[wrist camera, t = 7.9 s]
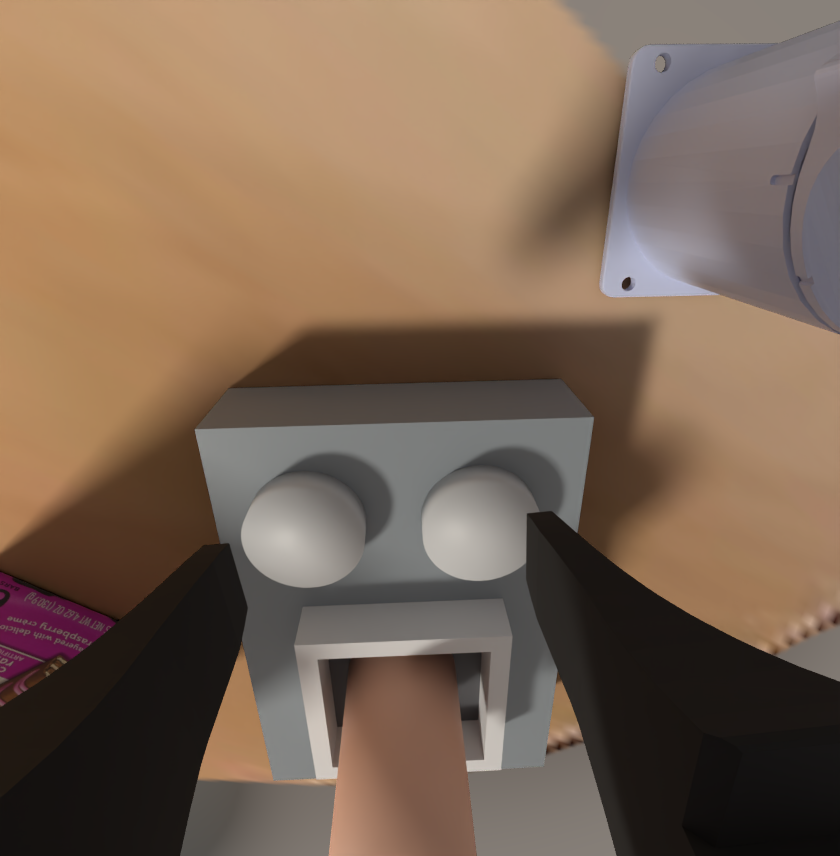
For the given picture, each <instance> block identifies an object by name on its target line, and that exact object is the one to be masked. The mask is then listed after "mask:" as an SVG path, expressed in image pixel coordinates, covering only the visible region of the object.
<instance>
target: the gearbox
mask: <svg viewBox="0 0 840 856" xmlns="http://www.w3.org/2000/svg"><path fill="white" fill-rule="evenodd" d="M593 422H594V416H593V415H592V414H591V413H590V412H589V411H588V409H587V408H586V407H585V406H584V405H583V404H582V402H581V401H580V400H579V399H578V398H577V397H576V395H575V394H574V393H573V392H572V391H571V390H570V388H569V387H568V386H567V385H566V384H565V383H564V381H563V380H562V379H540V380H504V381H468V382H432V383H396V384H361V385H325V386H289V387H253V388H229V389H228V390H227V391H226V392H225V393H224V395H223V396H222V397H221V398H220V399H219V401H218V402H217V403H216V404H215V405H214V407H213V408H212V409H211V410H210V411H209V413H208V414H207V415H206V416H205V417H204V419H203V420H202V421H201V422H200V423H199V425H198V426H197V427H196V428H195V434H196V438H197V443H198V447H199V451H200V456H201V460H202V465H203V469H204V474H205V478H206V482H207V487H208V491H209V496H210V500H211V505H212V509H213V514H214V518H215V522H216V527H217V531H218V536H219V540H220V544H224V543H229V544H230V548H231V551H232V554H233V558H234V561H235V565H236V568H237V572H238V575H239V578H240V582H241V585H242V589H243V592H244V595H245V599H246V602H247V606H248V611H247V616H246V622H245V627H244V632H243V637H242V642H243V647H244V651H245V656H246V660H247V664H248V669H249V673H250V678H251V682H252V687H253V691H254V695H255V700H256V704H257V709H258V713H259V718H260V722H261V727H262V731H263V735H264V740H265V744H266V749H267V753H268V758H269V762H270V766H271V771H272V775H273V780H274V781H275V780H294V779H314V778H316V779H335V778H337V774H338V764H339V755H340V745H341V736H342V727H343V717H344V708H345V698H346V689H347V679H348V670H349V663H350V660H351V658H363V657H385V656H408V655H430V654H452V656H453V658H454V661H455V669H456V678H457V686H458V695H459V704H460V713H461V722H462V730H463V739H464V748H465V757H466V766H467V772H470V771H489V770H501V769H506V768H523V767H524V768H525V767H543V766H544V761H545V754H546V747H547V740H548V733H549V727H550V720H551V713H552V706H553V699H554V692H555V685H556V678H557V671H558V670H557V667H556V665H555V663H554V660H553V658H552V655H551V653H550V650H549V648H548V645H547V643H546V640H545V638H544V636H543V633H542V631H541V628H540V626H539V623H538V620H537V618H536V615H535V611H534V607H533V604H532V600H531V597H530V593H529V589H528V585H527V581H526V532H527V513H535V512H545V511H552V512H554V513H555V514H556V515H557V516H558V517H559V518H561V519H562V520H563V521H564V522H565V523H566V524H567V525H569V526H570V527H571V528H572V529H573V530H574V531H575V532H576V533H578V526H579V519H580V512H581V505H582V498H583V491H584V484H585V477H586V470H587V463H588V456H589V450H590V443H591V436H592V429H593Z"/></svg>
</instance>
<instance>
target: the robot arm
mask: <svg viewBox="0 0 840 856" xmlns="http://www.w3.org/2000/svg"><path fill="white" fill-rule="evenodd" d="M658 56H662V57H663V58H664V59H665V68H664V70H663V71H662V72H658V71H657V70H656V68H655V61H656V58H657V57H658ZM627 277H630V278H631V284H630V286H629V287H628V288H626V289H623V288H622V282H623V280H624V279H625V278H627ZM599 285H600V290H601V292H602V293H604V294H605V295H607V296H609V297H648V296H692V295H723V296H726V297H729V298H732V299H735V300H738V301H741V302H744V303H747V304H750V305H753V306H756V307H759V308H762V309H765V310H768V311H771V312H774V313H777V314H780V315H783V316H786V317H789V318H792V319H795V320H798V321H801V322H804V323H807V324H810V325H813V326H816V327H819V328H822V329H825V330H828V331H831V332H834V333H837V334H840V21H837V22H834V23H832V24H829V25H827V26H824V27H821V28H818V29H816V30H813V31H811V32H808V33H805V34H803V35H800V36H797V37H795V38H792V39H789V40H787V41H784V42H781V43H762V44H761V43H759V44H650V45H645V46H643V47H641V48H639V49H638V50H637V51H635V52H634V54H633V55H632V57H631V58H630V61H629V65H628V71H627V79H626V86H625V94H624V102H623V109H622V117H621V124H620V132H619V139H618V147H617V154H616V162H615V169H614V177H613V184H612V192H611V199H610V207H609V214H608V222H607V230H606V237H605V245H604V252H603V260H602V267H601V275H600V282H599ZM526 581H527V585H528V589H529V593H530V597H531V600H532V604H533V607H534V611H535V615H536V618H537V620H538V623H539V626H540V628H541V631H542V633H543V636H544V638H545V640H546V643H547V645H548V648H549V650H550V653H551V655H552V658H553V660H554V663H555V665H556V667H557V670H558V672H559V675H560V677H561V680H562V682H563V685H564V687H565V689H566V692H567V694H568V697H569V699H570V702H571V704H572V707H573V710H574V712H575V715H576V718H577V721H578V723H579V727H580V730H581V733H582V737H583V740H584V743H585V746H586V750H587V753H588V756H589V760H590V762H591V766H592V769H593V773H594V776H595V780H596V783H597V787H598V790H599V794H600V797H601V800H602V804H603V807H604V811H605V815H606V818H607V822H608V826H609V829H610V833H611V837H612V840H613V844H614V848H615V851H616V855H617V856H840V682H839V681H836V680H834V679H831V678H828V677H826V676H823V675H820V674H818V673H815V672H812V671H809V670H807V669H804V668H801V667H799V666H796V665H794V664H792V663H789V662H787V661H785V660H782V659H780V658H778V657H776V656H773V655H771V654H769V653H766V652H764V651H762V650H759V649H757V648H755V647H753V646H751V645H749V644H747V643H744V642H742V641H740V640H738V639H736V638H734V637H732V636H730V635H728V634H726V633H724V632H722V631H720V630H718V629H716V628H715V627H713V626H711V625H709V624H707V623H705V622H703V621H701V620H699V619H698V618H696V617H694V616H692V615H690V614H689V613H687V612H685V611H684V610H682V609H680V608H679V607H677V606H675V605H674V604H672V603H670V602H669V601H667V600H666V599H664V598H662V597H661V596H659V595H657V594H656V593H654V592H653V591H651V590H650V589H648V588H647V587H645V586H644V585H643V584H641V583H640V582H638V581H637V580H636V579H634V578H633V577H631V576H630V575H629V574H627V573H626V572H624V571H623V570H622V569H620V568H619V567H618V566H616V565H615V564H614V563H612V562H611V561H610V560H609V559H608V558H606V557H605V556H604V555H603V554H601V553H600V552H599V551H598V550H596V549H595V548H594V547H593V546H592V545H590V544H589V543H588V542H587V541H586V540H585V539H583V538H582V537H581V536H580V535H579V534H578V533H576V532H575V531H574V530H573V529H572V528H571V527H570V526H569V525H567V524H566V523H565V522H564V521H563V520H562V519H561V518H559V517H558V516H557V515H556V514H555V513H554V512H552V511H545V512H535V513H527V532H526ZM247 611H248V606H247V602H246V599H245V595H244V592H243V589H242V585H241V582H240V578H239V575H238V572H237V568H236V565H235V561H234V558H233V554H232V551H231V548H230V544H229V543H224V544H214V545H204V546H203V547H201V548H200V549H199V550H198V551H197V552H195V553H194V554H193V555H192V556H191V557H190V558H189V559H188V560H186V561H185V562H184V563H183V564H182V565H181V566H180V567H179V568H178V569H177V570H176V571H175V572H173V573H172V574H171V575H170V576H169V577H168V578H167V579H166V580H165V581H164V582H163V583H162V584H160V585H159V586H158V587H157V588H156V589H155V590H154V591H153V592H152V593H151V594H149V595H148V596H147V597H146V598H145V599H144V600H143V601H142V602H141V603H139V604H138V605H137V606H136V607H135V608H134V609H133V610H131V611H130V612H129V613H128V614H127V615H125V616H124V617H123V618H122V619H121V620H119V621H118V622H117V623H116V624H115V625H114V626H112V627H111V628H110V629H109V630H108V631H106V632H105V633H104V634H103V635H102V636H100V637H99V638H98V639H97V640H95V641H94V642H93V643H92V644H90V645H89V646H88V647H87V648H85V649H84V650H83V651H81V652H80V653H79V654H77V655H76V656H75V657H73V658H72V659H71V660H69V661H68V662H66V663H65V664H64V665H62V666H61V667H60V668H58V669H57V670H55V671H54V672H53V673H51V674H50V675H48V676H47V677H45V678H44V679H43V680H41V681H40V682H38V683H37V684H35V685H33V686H32V687H30V688H29V689H27V690H26V691H24V692H23V693H21V694H20V695H18V696H17V697H15V698H13V699H12V700H10V701H9V702H7V703H6V704H4V705H3V706H1V707H0V856H180V853H181V849H182V844H183V839H184V835H185V830H186V826H187V821H188V817H189V812H190V808H191V804H192V799H193V796H194V792H195V787H196V783H197V779H198V775H199V771H200V767H201V763H202V760H203V756H204V753H205V750H206V746H207V743H208V740H209V737H210V734H211V731H212V729H213V726H214V723H215V720H216V717H217V714H218V711H219V708H220V706H221V703H222V700H223V697H224V694H225V691H226V688H227V685H228V682H229V680H230V677H231V674H232V671H233V668H234V665H235V662H236V659H237V656H238V653H239V650H240V646H241V641H242V637H243V632H244V627H245V622H246V616H247Z"/></svg>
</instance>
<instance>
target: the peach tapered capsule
mask: <svg viewBox="0 0 840 856" xmlns="http://www.w3.org/2000/svg"><path fill="white" fill-rule="evenodd" d="M329 856H477V854H476V846H475V836H474V827H473V819H472V810H471V801H470V792H469V783H468V774H467V766H466V757H465V748H464V739H463V730H462V722H461V713H460V704H459V695H458V686H457V678H456V669H455V661H454V658H453V656H452V654H430V655H408V656H385V657H363V658H351V660H350V663H349V670H348V679H347V689H346V698H345V708H344V717H343V727H342V736H341V745H340V755H339V764H338V774H337V783H336V793H335V802H334V812H333V822H332V831H331V841H330V850H329Z"/></svg>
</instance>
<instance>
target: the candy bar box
mask: <svg viewBox="0 0 840 856" xmlns="http://www.w3.org/2000/svg"><path fill="white" fill-rule="evenodd" d="M117 622H118V621H117V620H114V619H112V618H109V617H107V616H104V615H102V614H100V613H97V612H95V611H92V610H90V609H88V608H85V607H83V606H80V605H78V604H75V603H73V602H71V601H68V600H66V599H63V598H61V597H59V596H56V595H54V594H52V593H50V592H47V591H45V590H42V589H40V588H38V587H35V586H33V585H30V584H28V583H26V582H23V581H21V580H19V579H16V578H14V577H12V576H9V575H7V574H4V573H2V572H0V707H1V706H3V705H4V704H6V703H7V702H9V701H10V700H12V699H13V698H15V697H17V696H18V695H20V694H21V693H23V692H24V691H26V690H27V689H29V688H30V687H32V686H33V685H35V684H37V683H38V682H40V681H41V680H43V679H44V678H45V677H47V676H48V675H50V674H51V673H53V672H54V671H55V670H57V669H58V668H60V667H61V666H62V665H64V664H65V663H66V662H68V661H69V660H71V659H72V658H73V657H75V656H76V655H77V654H79V653H80V652H81V651H83V650H84V649H85V648H87V647H88V646H89V645H90V644H92V643H93V642H94V641H95V640H97V639H98V638H99V637H100V636H102V635H103V634H104V633H105V632H106V631H108V630H109V629H110V628H111V627H112V626H114V625H115V624H116V623H117Z"/></svg>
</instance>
